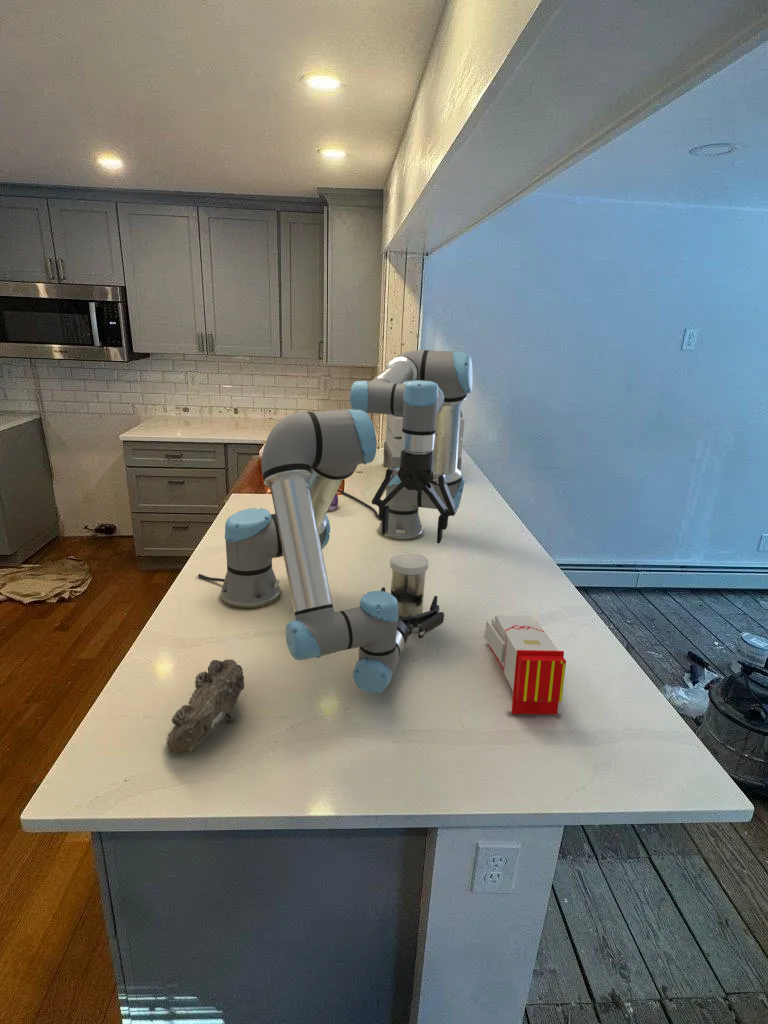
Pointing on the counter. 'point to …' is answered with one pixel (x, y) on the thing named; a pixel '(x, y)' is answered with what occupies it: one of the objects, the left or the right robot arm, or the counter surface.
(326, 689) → the counter surface
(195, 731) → the fossil
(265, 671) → the counter surface
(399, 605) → the jar
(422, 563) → the lid
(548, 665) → the toy
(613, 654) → the counter surface
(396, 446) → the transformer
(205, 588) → the counter surface
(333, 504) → the figurine
